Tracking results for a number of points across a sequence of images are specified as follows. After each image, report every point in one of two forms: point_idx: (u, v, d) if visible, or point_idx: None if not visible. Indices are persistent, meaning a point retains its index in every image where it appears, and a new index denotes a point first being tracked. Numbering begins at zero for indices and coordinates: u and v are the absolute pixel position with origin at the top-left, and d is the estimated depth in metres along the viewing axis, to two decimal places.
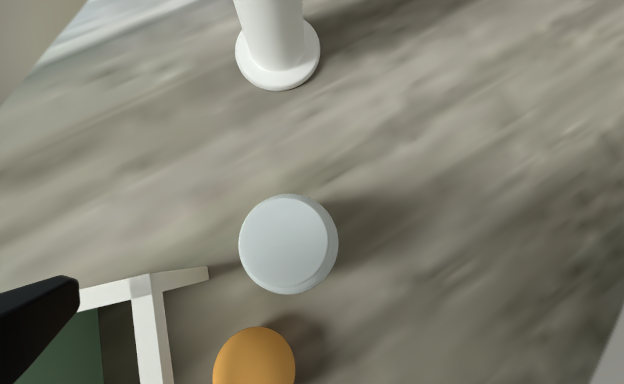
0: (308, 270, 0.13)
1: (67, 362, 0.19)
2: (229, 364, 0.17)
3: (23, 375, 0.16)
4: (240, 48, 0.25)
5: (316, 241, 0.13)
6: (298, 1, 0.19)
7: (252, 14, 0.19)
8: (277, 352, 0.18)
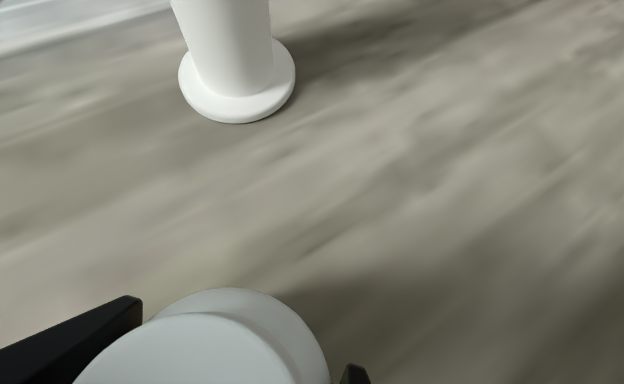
0: None
1: None
2: None
3: None
4: (186, 69, 0.18)
5: None
6: None
7: None
8: None
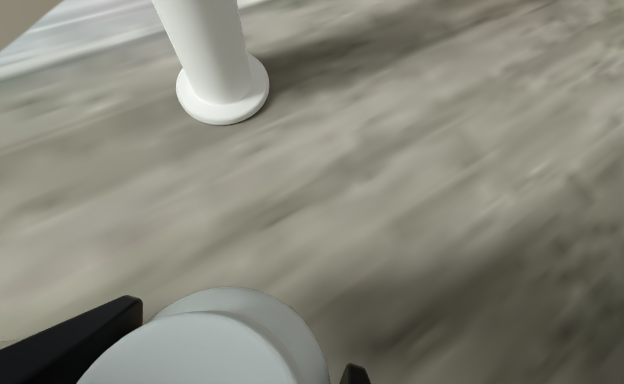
0: None
1: None
2: None
3: None
4: (182, 81, 0.23)
5: None
6: (234, 26, 0.18)
7: (180, 35, 0.17)
8: None
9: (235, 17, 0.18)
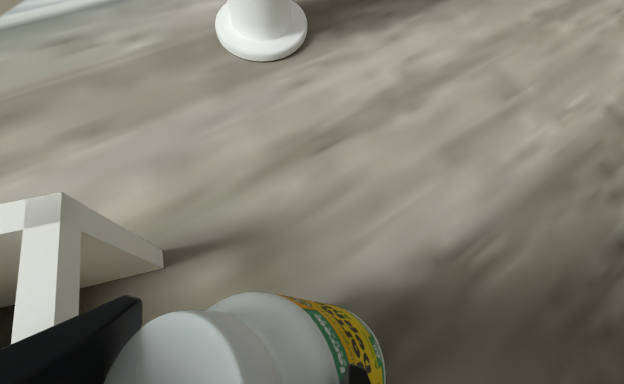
0: None
1: None
2: None
3: None
4: (221, 20, 0.23)
5: None
6: None
7: None
8: None
9: None
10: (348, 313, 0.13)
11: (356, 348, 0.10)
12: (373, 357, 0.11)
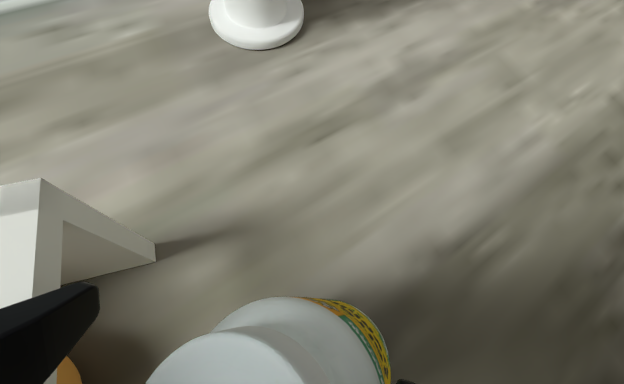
0: None
1: None
2: None
3: None
4: (215, 7, 0.23)
5: None
6: None
7: None
8: None
9: None
10: (356, 310, 0.13)
11: (378, 351, 0.10)
12: (386, 356, 0.11)
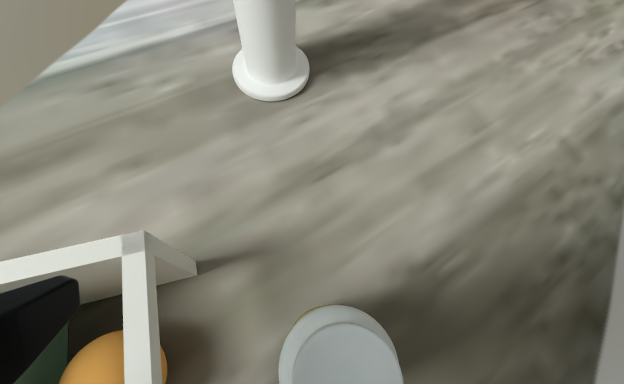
0: None
1: None
2: None
3: None
4: (237, 65, 0.28)
5: None
6: (293, 16, 0.23)
7: (253, 22, 0.22)
8: None
9: (294, 9, 0.22)
10: None
11: None
12: None
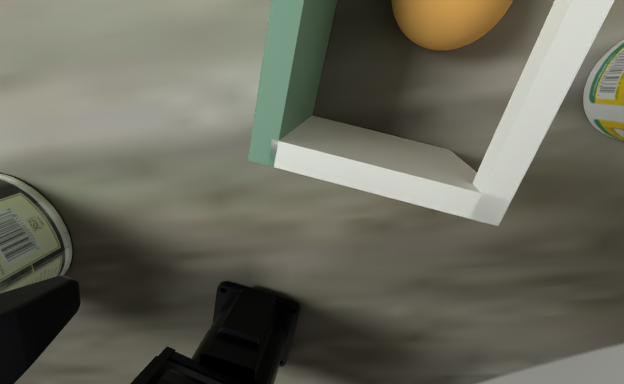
0: None
1: None
2: None
3: None
4: None
5: None
6: None
7: None
8: None
9: None
10: None
11: None
12: None
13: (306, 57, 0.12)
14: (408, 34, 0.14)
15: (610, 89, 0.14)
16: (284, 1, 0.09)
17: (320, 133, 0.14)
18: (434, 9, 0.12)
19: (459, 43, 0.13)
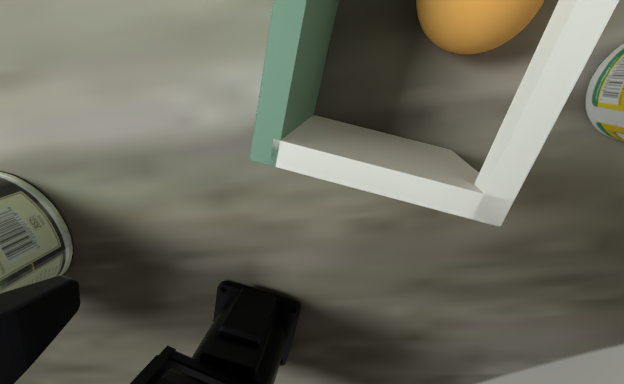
0: None
1: None
2: None
3: None
4: None
5: None
6: None
7: None
8: None
9: None
10: None
11: None
12: None
13: (308, 56, 0.12)
14: (441, 38, 0.13)
15: (613, 94, 0.14)
16: (287, 0, 0.09)
17: (322, 133, 0.14)
18: (487, 17, 0.11)
19: (489, 49, 0.13)
